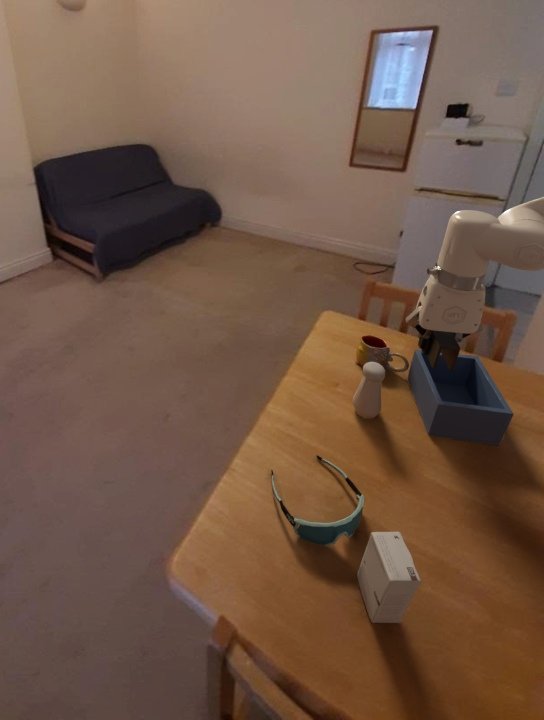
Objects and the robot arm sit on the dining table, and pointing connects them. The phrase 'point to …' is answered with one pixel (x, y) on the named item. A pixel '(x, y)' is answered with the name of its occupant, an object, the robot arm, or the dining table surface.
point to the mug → (377, 353)
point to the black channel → (443, 348)
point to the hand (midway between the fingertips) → (434, 351)
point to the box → (459, 399)
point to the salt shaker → (369, 391)
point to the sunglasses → (325, 531)
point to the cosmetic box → (387, 577)
